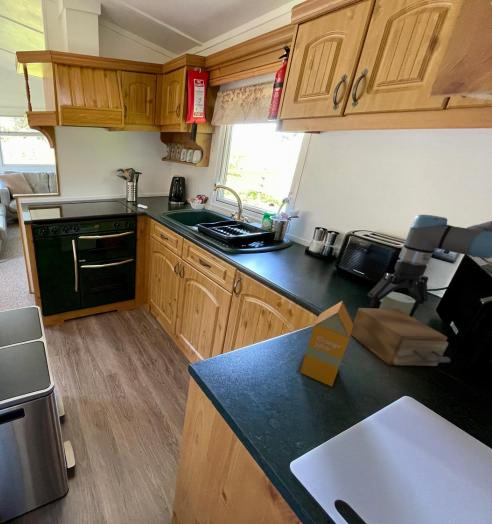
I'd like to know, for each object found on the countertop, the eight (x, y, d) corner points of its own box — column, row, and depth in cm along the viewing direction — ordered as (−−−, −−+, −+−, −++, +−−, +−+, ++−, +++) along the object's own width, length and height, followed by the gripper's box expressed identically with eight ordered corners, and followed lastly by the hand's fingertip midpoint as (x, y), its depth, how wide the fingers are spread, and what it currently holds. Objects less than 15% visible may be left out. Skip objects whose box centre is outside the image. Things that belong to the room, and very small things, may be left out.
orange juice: (337, 369, 79) (360, 305, 72) (332, 387, 73) (357, 318, 66) (306, 356, 84) (325, 295, 77) (299, 372, 77) (319, 306, 71)
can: (408, 334, 99) (422, 303, 95) (376, 328, 102) (388, 298, 98) (396, 321, 107) (408, 292, 103) (367, 316, 110) (378, 287, 106)
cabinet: (433, 365, 84) (447, 337, 80) (388, 364, 83) (401, 336, 79) (387, 334, 98) (398, 309, 95) (349, 333, 98) (358, 307, 94)
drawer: (452, 376, 78) (465, 352, 75) (409, 375, 77) (420, 351, 75) (393, 336, 96) (401, 315, 93) (357, 335, 95) (364, 314, 92)
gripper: (386, 263, 92) (364, 321, 99) (459, 267, 93) (431, 323, 101) (368, 256, 99) (348, 310, 106) (436, 259, 100) (411, 312, 108)
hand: (389, 316), depth 104 cm, fingers open, 13 cm apart
